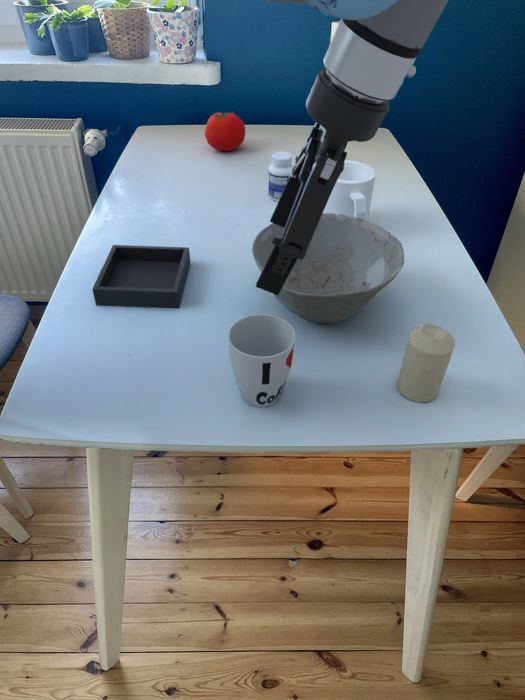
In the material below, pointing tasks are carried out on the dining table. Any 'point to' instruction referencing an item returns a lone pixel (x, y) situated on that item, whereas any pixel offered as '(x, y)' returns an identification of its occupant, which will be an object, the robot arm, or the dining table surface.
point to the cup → (261, 357)
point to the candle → (425, 363)
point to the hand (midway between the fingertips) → (273, 254)
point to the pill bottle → (279, 174)
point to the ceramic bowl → (335, 267)
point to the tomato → (225, 131)
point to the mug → (352, 191)
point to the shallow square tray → (143, 276)
